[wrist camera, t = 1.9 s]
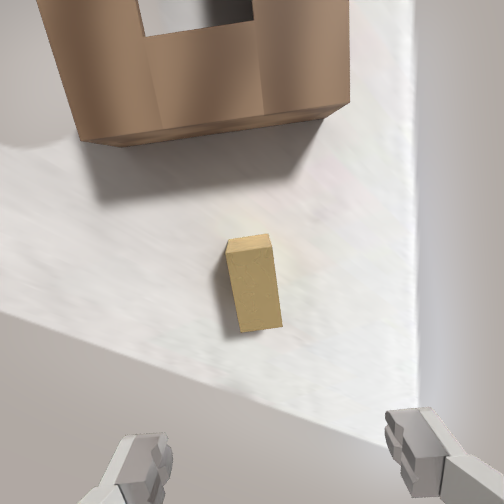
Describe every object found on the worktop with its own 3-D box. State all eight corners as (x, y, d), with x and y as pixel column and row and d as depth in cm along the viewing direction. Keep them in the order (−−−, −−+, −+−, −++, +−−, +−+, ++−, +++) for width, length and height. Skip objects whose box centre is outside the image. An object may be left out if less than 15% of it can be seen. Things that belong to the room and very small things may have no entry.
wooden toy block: (241, 307, 25) (240, 332, 21) (229, 238, 23) (225, 253, 19) (277, 302, 25) (282, 326, 21) (268, 233, 23) (272, 246, 19)
